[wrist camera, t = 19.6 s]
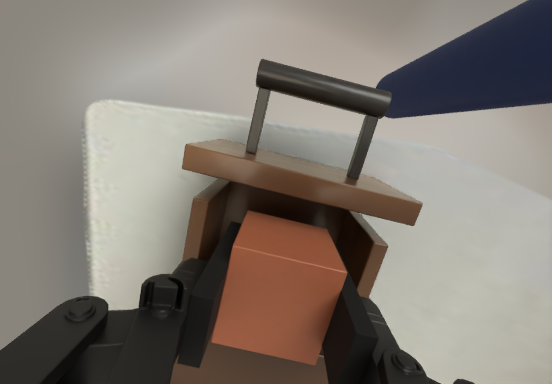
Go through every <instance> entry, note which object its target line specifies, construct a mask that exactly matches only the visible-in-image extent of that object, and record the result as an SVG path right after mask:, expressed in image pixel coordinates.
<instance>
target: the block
mask: <svg viewBox="0 0 552 384" xmlns="http://www.w3.org/2000/svg"><path fill="white" fill-rule="evenodd" d="M346 276H347V271H346V268H345V266H344V264H343V262H342V260H341V258H340V256H339V254H338V251H337V249H336V247H335V245H334V243H333V241H332V239H331V236H330V234H329V232H328V230H327V229H324V228H320V227H316V226H312V225H307V224H303V223H299V222H295V221H291V220H287V219H283V218H278V217H274V216H270V215H266V214H262V213H258V212H254V211H249V210H248V211H247V213H246V216H245V218H244V220H243V223H242V225H241V227H240V230H239V232H238V235H237V237H236V239H235V242H234V244H233V247H232V251H231V255H230V260H229V265H228V269H227V274H226V278H225V283H224V287H223V292H222V296H221V300H220V305H219V309H218V314H217V318H216V322H215V326H214V331H213V335H212V340H211V342H212V343H216V344H221V345H225V346H230V347H234V348H239V349H243V350H248V351H252V352H257V353H261V354H266V355H271V356H275V357H280V358H284V359H289V360H293V361H298V362H302V363H307V364H311V365H316V362H317V359H318V356H319V353H320V351H321V348H322V343H323V341H324V338H325V335H326V332H327V329H328V326H329V323H330V320H331V318H332V315H333V312H334V309H335V306H336V303H337V300H338V297H339V294H340V292H341V290H342V287H343V284H344V281H345V279H346Z"/></svg>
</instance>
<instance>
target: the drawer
mask: <svg viewBox="0 0 552 384" xmlns="http://www.w3.org/2000/svg"><path fill="white" fill-rule="evenodd" d="M256 87H258V88H259V91H258V95H257V100H256V104H255V109H254V114H253V118H252V123H251V127H250V132H249V137H248V141H247V145H244V144H240V143H236V142H232V141H228V140H224V139H218V140H211V141H204V142H198V143H191V144H186V146H185V152H184V158H183V165H182V169H184V170H188V171H192V172H196V173H200V174H204V175H208V176H212V177H216V178H219V179H218V180H217V181H215V182H214V183H213V184H211V185H210V186H209V187H207V188H206V189H205V190H204V191H202V192H201V193H200V194H198V195H197V196H196V197H194V198H193V203H192V208H191V214H190V220H189V225H188V231H187V237H186V243H185V248H184V254H183V260H182V262H183V261H185V260H187V259H189V258H191V257H192V258H196V259H201V260H205V261H209V260H210V258H211V257H212V255H213V253H214V251H215V250H216V248H217V246H218V244H219V242H220V241H221V239H222V237H223V235H224V233H225V232H226V230H227V228H228V226H229V225H230V223H231V221H233V222H237V223H241V224H242V223H243V220H244V218H245V216H246V213H247V211H248V210H249V211H254V212H258V213H262V214H266V215H270V216H274V217H278V218H283V219H287V220H291V221H295V222H299V223H303V224H307V225H312V226H316V227H320V228H324V229H327V230H328V232H329V234H330V236H331V239H332V241H333V243H334V245H335V246H336V247H337V248H338V250H339V252H340V254H341V256H342V258H343V261H344V263H345V265H346V267H347V269H348V272H349V274H350V276H351V278H352V280H353V282H354V285H355V287H356V289H357V291H358V293H359V295H360V296H361V297H365V298H369V295H370V293H371V290H372V287H373V285H374V282H375V280H376V277H377V274H378V272H379V269H380V267H381V264H382V261H383V259H384V256H385V254H386V251H387V248H388V245H387V244H386V243H385V241H384V240H383V239H382V238H381V237H380V236H379V235H378V234H377V233H376V231H375V230H374V229H373V228H372V227H371V226H370V225H369V224H368V223H367V221H366V220H365V219H364V218H363V217H362V216H361V215H360V214H359V213H362V214H366V215H370V216H374V217H378V218H382V219H386V220H390V221H394V222H398V223H402V224H406V225H410V226H414V225H415V222H416V220H417V217H418V215H419V212H420V210H421V207H422V205H423V204H422V203H421V202H419V201H417V200H415V199H414V198H412V197H410V196H408V195H406V194H404V193H402V192H400V191H399V190H397V189H395V188H393V187H391V186H389V185H387V184H385V183H384V182H382V181H380V180H378V179H376V178H374V177H371V176H367V175H363V174H360V173H361V170H362V167H363V164H364V161H365V158H366V155H367V152H368V149H369V146H370V143H371V140H372V137H373V134H374V130H375V127H376V124H377V121H378V119H381V118H382V117H384V115H385V114H386V112H387V110H388V108H389V106H390V103H391V97H392V96H391V93H390V92H387V91H383V90H379V89H375V88H371V87H367V86H363V85H360V84H356V83H352V82H349V81H344V80H341V79H337V78H333V77H329V76H326V75H322V74H318V73H314V72H310V71H306V70H303V69H299V68H295V67H291V66H287V65H284V64H280V63H276V62H272V61H268V60H265V59H261V61H260V64H259V68H258V72H257V78H256ZM270 91H274V92H278V93H282V94H286V95H289V96H293V97H297V98H301V99H305V100H309V101H313V102H316V103H320V104H324V105H328V106H332V107H336V108H340V109H343V110H347V111H351V112H355V113H359V114H363V115H367V116H365V119H364V121H363V125H362V128H361V131H360V134H359V137H358V140H357V143H356V147H355V150H354V153H353V156H352V159H351V162H350V165H349V169H348V171H347V170H343V169H339V168H335V167H331V166H327V165H323V164H319V163H315V162H311V161H307V160H303V159H299V158H295V157H291V156H287V155H283V154H279V153H275V152H271V151H268V150H264V149H260V148H258V145H259V140H260V136H261V132H262V127H263V123H264V118H265V114H266V109H267V105H268V101H269V96H270Z"/></svg>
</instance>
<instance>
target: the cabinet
mask: <svg viewBox="0 0 552 384" xmlns="http://www.w3.org/2000/svg"><path fill="white" fill-rule="evenodd" d="M181 263H182V261H181ZM181 263H180V264H179V265H178V267H179V266H180V265H181ZM178 267H177V268H178ZM177 268H176V269H175V271H176V270H177ZM175 271H174V272H175ZM174 272H173V273H172V275H173V274H174ZM214 326H215V325H214ZM213 331H214V328H213ZM213 331H212V333H211V336H210V339H209V342H208V345H207V348H206V351H205V353H204V356H203V359H202V362H201V365H200V368H195V367H191V366H186V365H182V364H177V361H178V357H177V359H176V361H175V363H174V366H173V371H172V377H171V382H170V384H329V383H328V377H327V372H326V366H325V361H324V355H323V349H322V348H321V351H320V353H319V356H318V359H317V362H316V365H311V364H307V363H302V362H298V361H293V360H289V359H284V358H280V357H275V356H271V355H266V354H261V353H257V352H252V351H248V350H243V349H239V348H234V347H230V346H225V345H221V344H216V343H212V342H211V340H212V335H213ZM178 356H179V355H178Z"/></svg>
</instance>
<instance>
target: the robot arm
mask: <svg viewBox="0 0 552 384" xmlns="http://www.w3.org/2000/svg"><path fill="white" fill-rule="evenodd" d="M241 225H242V224H241V223H237V222H233V221H231V223H230V225H229V226H228V228H227V230H226V232H225V233H224V235H223V237H222V239H221V241H220V242H219V244H218V246H217V248H216V250H215V251H214V253H213V255H212V257H211V258H210V260H209V261H205V260H201V259H196V258H192V257H191V258H189V259H187V260H185V261H183V262H182V263H181V265H180V266H179V267H178V268H177V270H176V271H175V272H174V274H173V275H172V274H160V275H156V276H152V277H150V278H148V279H147V280H145V282H144V283H143V284H142V287H141V294H140V301H139V308H137V309H133V310H110V311H108V303H107V302H106V301H105V300H104V299H102V298H99V297H95V296H83V297H77V298H74V299H71V300H68V301H66V302H64V303H62V304H60V305H59V306H57V307H56V308H55V309H53V310H52V311H51V312H49V314H47V315H46V316H44V317H43V318H42V319H40V320H39V321H38V322H37V323H35V324H34V325H33V326H31V327H30V328H29V329H28V330H26V331H25V332H24V333H22V334H21V335H20V336H18V337H17V338H16V339H15V340H13V341H12V342H11V343H9V344H8V345H7V346H6V347H4V348H3V349H2V350H0V384H170V382H171V377H172V371H173V366H174V363H175V361H176V359H177V357H178V361H177V364H182V365H186V366H191V367H195V368H200V365H201V362H202V359H203V356H204V353H205V351H206V348H207V345H208V342H209V339H210V336H211V333H212V331H213V328H214V325H215V322H216V318H217V314H218V309H219V305H220V300H221V296H222V292H223V287H224V283H225V278H226V274H227V269H228V265H229V260H230V255H231V251H232V247H233V244H234V242H235V239H236V237H237V235H238V232H239V230H240V227H241ZM335 247H336V246H335ZM336 249H337V251H338V254H339V256H340V258H341V260H342V262H343V264H344V266H345V268H346V271H347V276H346V279H345V281H344V284H343V287H342V290H341V292H340V294H339V297H338V300H337V303H336V306H335V309H334V312H333V315H332V318H331V320H330V323H329V326H328V329H327V332H326V335H325V338H324V341H323V343H322V349H323V355H324V361H325V366H326V372H327V377H328V383H329V384H441V383H438V382H436V381H434V380H432V379H430V378H428V377H427V376H426V373H425V371H424V370H423V368H422V366H421V365H420V364H419V363H418V362H417V360H416V359H415V358H413V357H412V356H411V355H409V354H408V353H406V352H404V351H403V350H401V349H400V348H399V346H398V344H397V342H396V340H395V338H394V337H393V335H392V333H391V331H390V329H389V327H388V325H386V324H387V323H386V322H385V320H384V318H382V314H381V312H380V310H379V308H378V307H377V306H376V305H375V304H374V303H373V302H372V301H371V300H370V299H369V298H365V297H361V296H360V295H359V293H358V291H357V289H356V287H355V285H354V282H353V280H352V278H351V276H350V274H349V272H348V269H347V267H346V265H345V263H344V261H343V258H342V256H341V254H340V252H339V250H338V248H337V247H336ZM178 355H179V356H178ZM453 384H474V383H472V382H470V381H467V380H464V379H457V380H456V381H455V382H454V383H453Z"/></svg>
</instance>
